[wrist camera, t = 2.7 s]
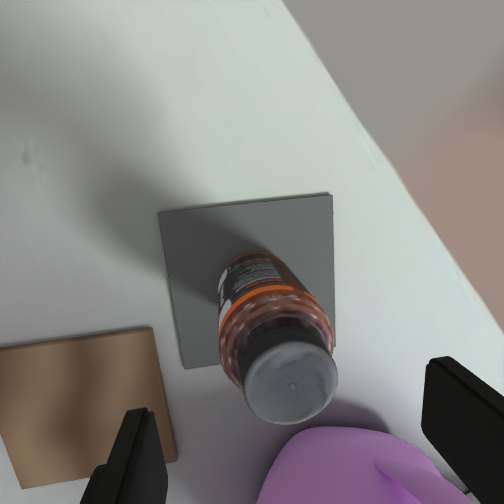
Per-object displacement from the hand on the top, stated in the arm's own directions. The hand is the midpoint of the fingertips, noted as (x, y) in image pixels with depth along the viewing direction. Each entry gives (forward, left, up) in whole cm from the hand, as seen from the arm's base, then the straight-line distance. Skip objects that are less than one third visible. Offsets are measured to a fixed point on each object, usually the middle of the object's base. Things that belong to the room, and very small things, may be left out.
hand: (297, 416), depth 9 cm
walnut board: (+15, +9, -14) cm, 22 cm away
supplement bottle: (0, 0, -13) cm, 13 cm away
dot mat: (0, 0, -14) cm, 14 cm away
